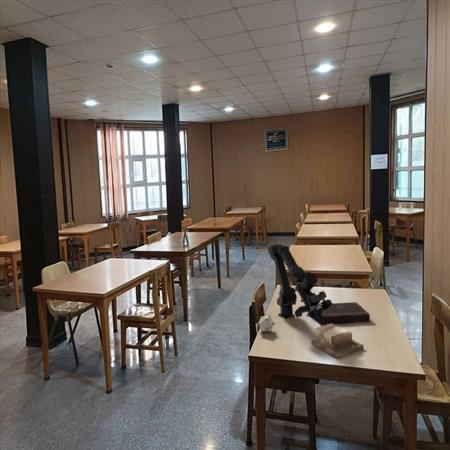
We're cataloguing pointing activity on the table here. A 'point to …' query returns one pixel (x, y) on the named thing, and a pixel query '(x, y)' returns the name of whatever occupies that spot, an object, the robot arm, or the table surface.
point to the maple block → (333, 337)
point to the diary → (345, 313)
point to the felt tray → (354, 348)
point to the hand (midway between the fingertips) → (322, 325)
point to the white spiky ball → (265, 323)
